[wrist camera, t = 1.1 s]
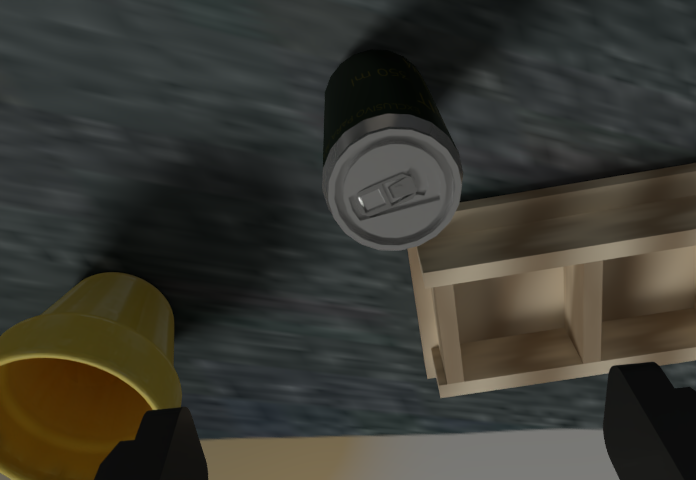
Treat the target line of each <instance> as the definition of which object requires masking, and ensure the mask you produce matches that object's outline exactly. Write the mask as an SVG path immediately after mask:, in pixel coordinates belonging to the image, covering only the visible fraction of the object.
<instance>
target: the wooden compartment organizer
mask: <svg viewBox="0 0 696 480" xmlns="http://www.w3.org/2000/svg"><path fill="white" fill-rule="evenodd" d="M408 256H409V262H410V269H411V275H412V282H413V288H414V295H415V302H416V308H417V315H418V321H419V328H420V334H421V341H422V348H423V354H424V361H425V367H426V373H427V378H428V379H429V378H437V383H438V387H439V392H440V397H441V398H445V397H451V396H458V395H465V394H472V393H478V392H485V391H492V390H498V389H505V388H512V387H519V386H525V385H532V384H539V383H546V382H552V381H559V380H566V379H572V378H579V377H586V376H593V375H599V374H606V373H609V370H610V368H611V367H612V366H614V365H624V364H634V363H644V362H655V363H657V364H658V365H659V366H660V365H667V364H673V363H680V362H687V361H693V360H696V163H692V164H686V165H680V166H674V167H668V168H662V169H656V170H650V171H644V172H638V173H632V174H626V175H620V176H615V177H609V178H603V179H597V180H591V181H585V182H579V183H573V184H567V185H561V186H555V187H549V188H543V189H537V190H531V191H525V192H520V193H514V194H508V195H502V196H496V197H490V198H484V199H478V200H472V201H466V202H460V203H459V206H458V208H457V210H456V212H455V214H454V216H453V218H452V220H451V221H450V223H449V224H448V225H447V226H446V227H445V228H444V229H443V230H442V231H441V232H440V233H439V234H438V235H437V236H436V237H434V238H432V239H430V240H429V241H427V242H425V243H423V244H421V245H420V246H416V247H412V248H408Z"/></svg>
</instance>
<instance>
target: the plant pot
mask: <svg viewBox="0 0 696 480" xmlns="http://www.w3.org/2000/svg"><path fill="white" fill-rule="evenodd" d="M173 362H174V316H173V312H172V309H171V307H170V304H169V303H168V301H167V299H166V298H165V297H164V296H163V294H162V293H161V292H160V291H159V290H158V289H157V288H155V287H154V286H153V285H151V284H150V283H148V282H147V281H145V280H143V279H141V278H139V277H136V276H133V275H130V274H126V273H119V272H106V273H100V274H96V275H93V276H90V277H88V278H85V279H84V280H82V281H81V282H80V283H78V284H77V285H76V286H75V287H73V288H72V289H71V290H70V291H69V292H68V293H66V294H65V295H64V296H63V297H62V298H60V299H59V300H58V301H57V302H56V303H54V304H53V305H52V306H51V307H50V308H48V309H47V310H46V311H45V312H44V313H42V314H41V315H39V316H35V317H33V318H30V319H27V320H24V321H22V322H20V323H18V324H16V325H14V326H13V327H11V328H10V329H8V330H7V331H6V332H5V333H3V334H2V335H1V336H0V473H1V474H3V475H5V476H6V477H8V478H10V479H11V480H94V478H95V475H96V473H97V471H98V468H99V466H100V464H101V463H102V461H103V460H104V459H105V458H106V457H107V456H108V454H109V453H110V452H111V451H112V450H113V449H114V447H115V446H116V445H117V444H118V443H119V442H120V441H127V440H134V439H135V437H136V434H137V431H138V428H139V426H140V423H141V420H142V418H143V415H144V414H145V412H146V411H148V410H158V409H168V408H178V407H181V398H182V392H181V385H180V381H179V378H178V375H177V373H176V371H175V369H174V367H173Z"/></svg>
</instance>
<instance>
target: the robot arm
mask: <svg viewBox="0 0 696 480" xmlns="http://www.w3.org/2000/svg"><path fill="white" fill-rule="evenodd" d="M603 432H604V440H605V444H606V449H607V452H608V455H609V457H610V460H611V462H612V464H613V466H614V468H615V470H616V472H617V475H618V477H619V479H620V480H696V391H695V390H693V389H692V388H691V387H685V388H674V387H673V385H672V384H671V382H670V381H669V379H668V378H667V376H666V375H665V373H664V372H663V370H662V369H661V368H660V366H659V365H658V364H657V363H655V362H644V363H634V364H624V365H614V366H612V367H611V368H610V370H609V375H608V384H607V393H606V402H605V411H604V421H603ZM94 480H208V469H207V463H206V459H205V457H204V453H203V450H202V447H201V444H200V441H199V437H198V434H197V431H196V428H195V425H194V422H193V419H192V416H191V413H190V411H189V409H188V408H187V407H178V408H168V409H158V410H148V411H146V412H145V414H144V415H143V418H142V420H141V423H140V426H139V428H138V431H137V434H136V437H135V439H134V440H127V441H120V442H119V443H118V444H117V445H116V446H115V447H114V449H113V450H112V451H111V452H110V453H109V454H108V456H107V457H106V458H105V459H104V460H103V461H102V463H101V464H100V466H99V468H98V471H97V473H96V475H95V478H94Z"/></svg>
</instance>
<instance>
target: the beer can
mask: <svg viewBox="0 0 696 480" xmlns="http://www.w3.org/2000/svg"><path fill="white" fill-rule="evenodd" d="M462 179H463V171H462V166H461V160H460V156H459V152H458V150H457V148H456V146H455V144H454V142H453V140H452V138H451V136H450V134H449V132H448V130H447V127H446V125H445V123H444V121H443V119H442V117H441V115H440V113H439V111H438V109H437V107H436V105H435V103H434V100H433V98H432V96H431V94H430V92H429V90H428V88H427V86H426V84H425V82H424V80H423V78H422V77H421V75H420V73H419V72H418V70H417V68H416V67H415V66H414V65H413V64H412V63H410V62H409V61H408V60H407V59H406V58H404V57H403V56H401V55H398V54H396V53H393V52H390V51H388V50H369V51H365V52H362V53H358V54H355V55H353V56H352V57H350V58H349V59H347V60H346V61H344V62H343V63H341V64H340V66H339V67H338V68H337V69H336V71H335V72H334V73H333V74H332V76H331V77H330V80H329V83H328V85H327V88H326V91H325V111H324V146H323V181H322V190H323V193H324V197H325V200H326V203H327V206H328V209H329V210H330V211H331V213H332V214H333V217H334V219H335V220H336V222H337V223H338V224H339V226H340V227H341V228H342V230H343V231H344V232H345V233H346V234H347V235H348V236H350V237H351V238H353V239H354V240H356V241H357V242H359V243H360V244H362V245H365V246H368V247H372V248H375V249H378V250H394V251H400V250H404V249H408V248H412V247H416V246H420V245H421V244H423V243H425V242H427V241H429V240H430V239H432V238H434V237H436V236H437V235H438V234H439V233H440V232H441V231H442V230H443V229H444V228H445V227H446V226H447V225H448V224H449V223H450V221H451V220H452V218H453V216H454V214H455V212H456V210H457V208H458V206H459V202H460V195H461V188H462Z"/></svg>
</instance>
